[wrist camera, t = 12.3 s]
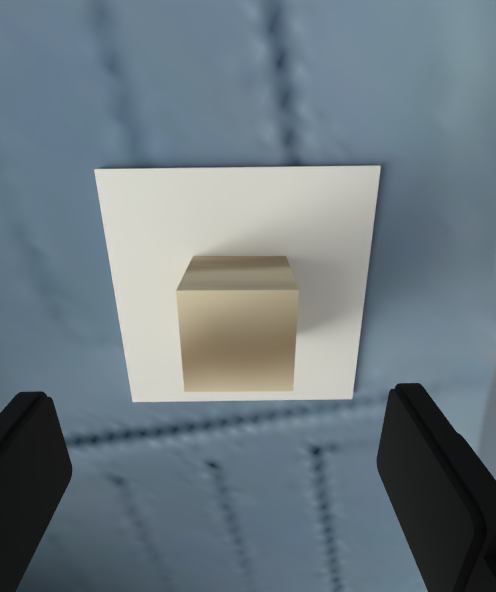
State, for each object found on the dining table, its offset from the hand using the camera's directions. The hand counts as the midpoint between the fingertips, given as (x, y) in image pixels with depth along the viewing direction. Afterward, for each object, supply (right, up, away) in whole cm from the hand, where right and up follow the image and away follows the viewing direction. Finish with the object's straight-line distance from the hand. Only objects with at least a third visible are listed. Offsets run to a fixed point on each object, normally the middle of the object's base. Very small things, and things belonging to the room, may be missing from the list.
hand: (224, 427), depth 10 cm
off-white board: (0, +4, +11) cm, 11 cm away
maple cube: (0, +4, +10) cm, 11 cm away
